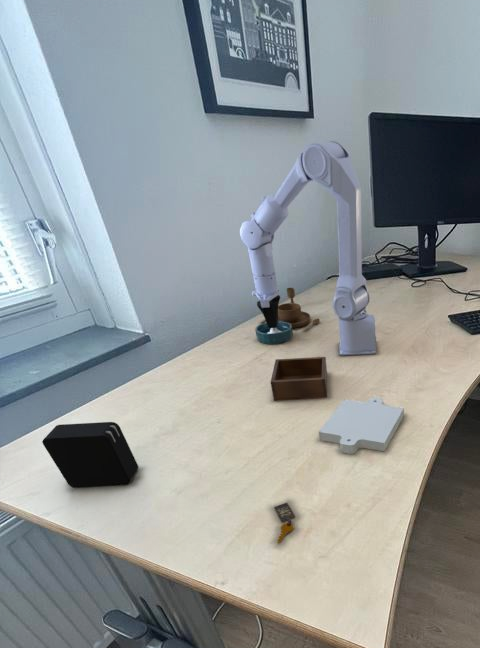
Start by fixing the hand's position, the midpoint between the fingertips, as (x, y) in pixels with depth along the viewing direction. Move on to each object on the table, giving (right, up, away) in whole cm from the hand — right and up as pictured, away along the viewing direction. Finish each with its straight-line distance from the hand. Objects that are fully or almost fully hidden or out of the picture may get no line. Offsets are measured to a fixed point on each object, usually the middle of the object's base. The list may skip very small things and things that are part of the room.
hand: (273, 325), depth 121 cm
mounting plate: (+27, -33, -35) cm, 55 cm away
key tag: (+15, -49, -55) cm, 76 cm away
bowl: (0, -3, +2) cm, 3 cm away
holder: (+12, -22, -21) cm, 32 cm away
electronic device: (-17, -43, -46) cm, 65 cm away
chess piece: (0, -2, +2) cm, 3 cm away
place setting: (+4, +7, +14) cm, 16 cm away
